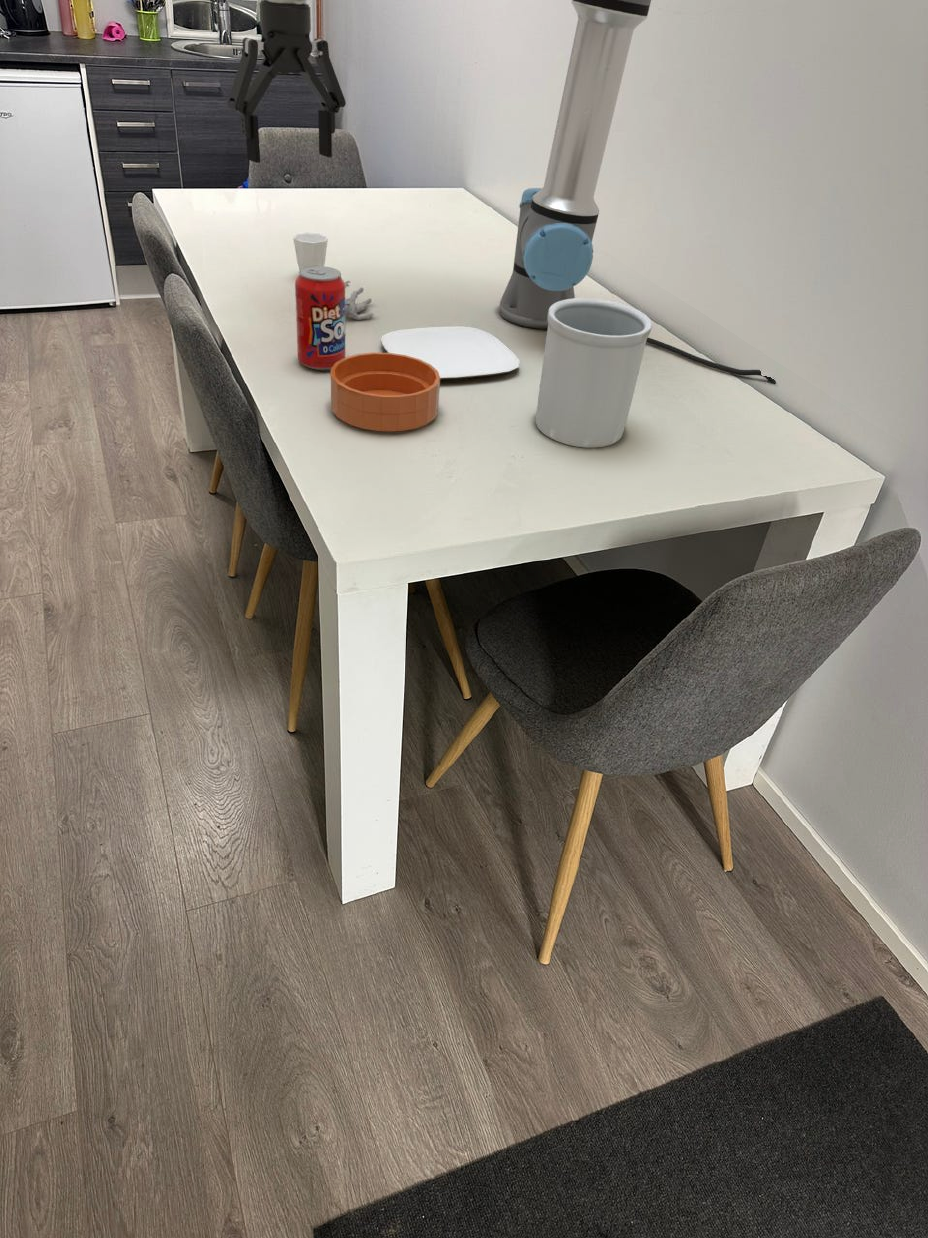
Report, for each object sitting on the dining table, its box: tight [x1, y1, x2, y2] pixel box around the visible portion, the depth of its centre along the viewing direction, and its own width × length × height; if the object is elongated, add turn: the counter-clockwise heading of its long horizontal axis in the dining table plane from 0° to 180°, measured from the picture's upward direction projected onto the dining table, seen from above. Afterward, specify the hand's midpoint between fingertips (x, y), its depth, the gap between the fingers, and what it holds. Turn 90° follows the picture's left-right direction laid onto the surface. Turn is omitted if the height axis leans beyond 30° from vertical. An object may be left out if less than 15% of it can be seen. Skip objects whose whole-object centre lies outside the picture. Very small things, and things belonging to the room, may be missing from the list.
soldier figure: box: [344, 280, 375, 321], centre depth 163 cm, size 8×5×12 cm
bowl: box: [330, 352, 441, 432], centre depth 131 cm, size 16×16×6 cm
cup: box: [292, 232, 329, 271], centre depth 177 cm, size 7×10×8 cm
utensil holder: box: [535, 297, 653, 449], centre depth 129 cm, size 15×15×18 cm
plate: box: [380, 325, 521, 380], centre depth 151 cm, size 22×22×2 cm
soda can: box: [294, 265, 346, 371], centre depth 141 cm, size 8×8×15 cm
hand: (290, 158), depth 143 cm, fingers open, 13 cm apart
